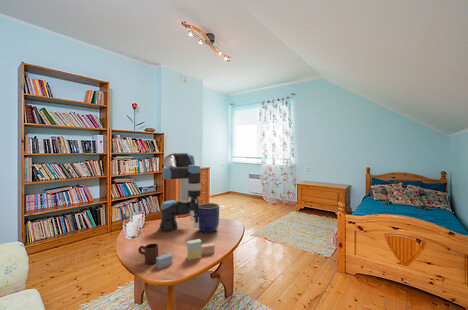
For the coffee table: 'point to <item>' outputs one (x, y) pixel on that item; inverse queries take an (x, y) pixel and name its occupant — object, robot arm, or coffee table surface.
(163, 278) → the coffee table surface
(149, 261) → the mug
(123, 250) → the coffee table surface
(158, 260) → the slate brick
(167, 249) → the coffee table surface
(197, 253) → the mustard brick
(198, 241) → the sage brick
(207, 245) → the terracotta brick
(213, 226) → the planter
